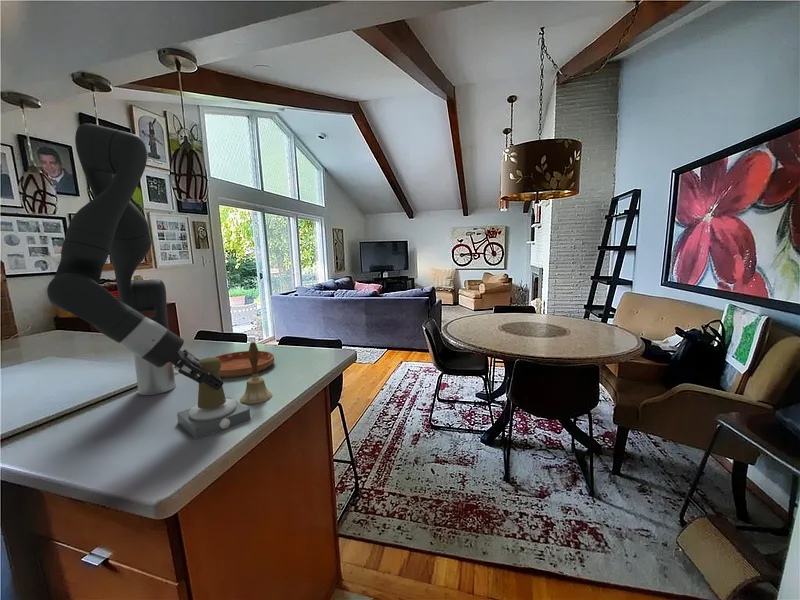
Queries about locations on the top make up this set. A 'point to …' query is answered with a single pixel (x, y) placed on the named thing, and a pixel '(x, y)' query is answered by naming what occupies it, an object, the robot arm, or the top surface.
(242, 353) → the saucer
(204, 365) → the cork
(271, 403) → the top surface
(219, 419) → the scale
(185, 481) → the top surface
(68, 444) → the top surface
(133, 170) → the robot arm
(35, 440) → the top surface
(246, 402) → the hand bell
